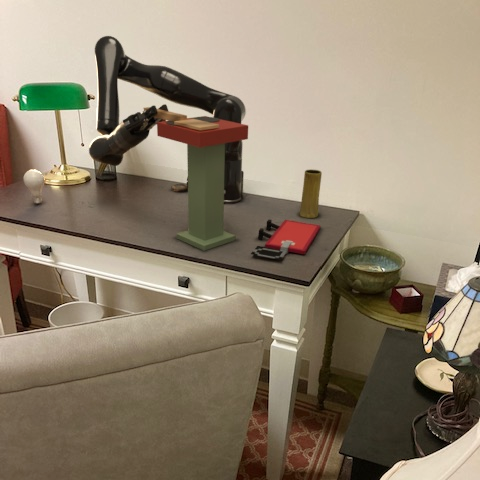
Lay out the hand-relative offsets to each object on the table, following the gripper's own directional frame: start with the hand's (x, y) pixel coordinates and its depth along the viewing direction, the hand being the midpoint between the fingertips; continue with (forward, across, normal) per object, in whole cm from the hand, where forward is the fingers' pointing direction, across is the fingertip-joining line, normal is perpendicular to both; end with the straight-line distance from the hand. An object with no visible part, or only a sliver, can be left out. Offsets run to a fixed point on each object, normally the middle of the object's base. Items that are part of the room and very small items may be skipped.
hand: (160, 108), depth 140 cm
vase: (+1, +43, +40) cm, 58 cm away
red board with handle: (+10, +19, +45) cm, 50 cm away
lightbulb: (-55, -18, +7) cm, 58 cm away
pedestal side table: (-6, +4, +35) cm, 36 cm away
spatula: (+4, 0, +5) cm, 7 cm away
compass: (-39, +28, +16) cm, 51 cm away
